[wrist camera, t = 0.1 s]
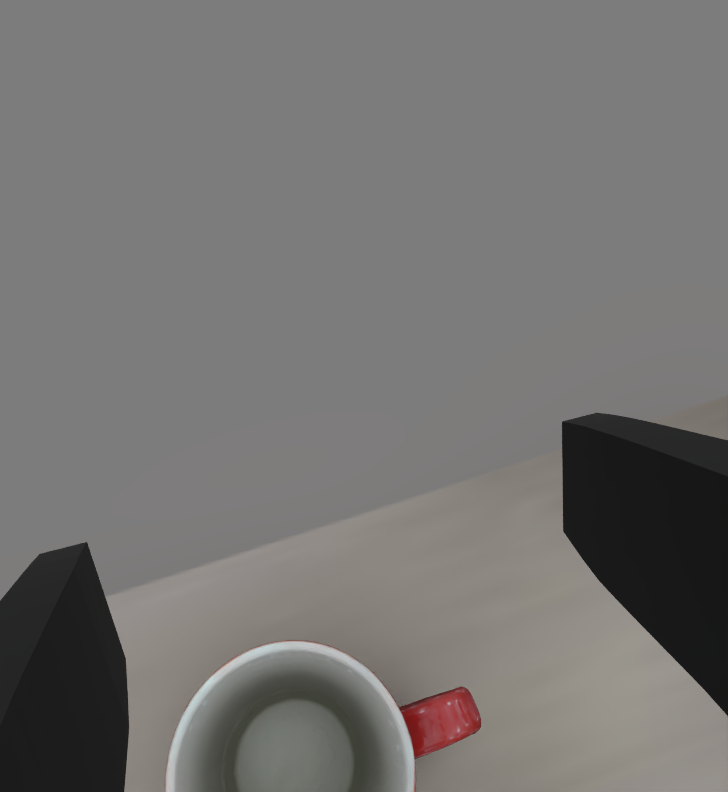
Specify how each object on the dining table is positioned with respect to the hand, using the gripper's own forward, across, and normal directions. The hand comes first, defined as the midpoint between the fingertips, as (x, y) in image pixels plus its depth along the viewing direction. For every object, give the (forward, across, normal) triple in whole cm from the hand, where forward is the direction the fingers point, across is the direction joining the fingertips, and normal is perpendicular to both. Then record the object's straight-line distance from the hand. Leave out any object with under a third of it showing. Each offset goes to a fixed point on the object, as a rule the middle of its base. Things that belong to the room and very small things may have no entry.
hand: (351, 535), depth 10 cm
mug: (+19, 0, +26) cm, 32 cm away
